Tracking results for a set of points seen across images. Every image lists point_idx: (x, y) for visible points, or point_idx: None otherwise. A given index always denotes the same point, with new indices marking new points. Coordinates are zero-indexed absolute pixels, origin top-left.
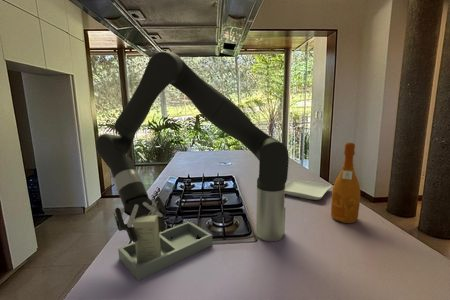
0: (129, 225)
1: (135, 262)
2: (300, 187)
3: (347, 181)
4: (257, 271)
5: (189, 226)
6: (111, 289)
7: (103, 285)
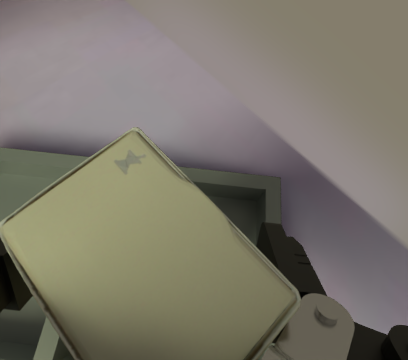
0: (329, 307)
1: (269, 215)
2: None
3: None
4: (46, 18)
5: None
6: (343, 220)
7: (361, 258)
